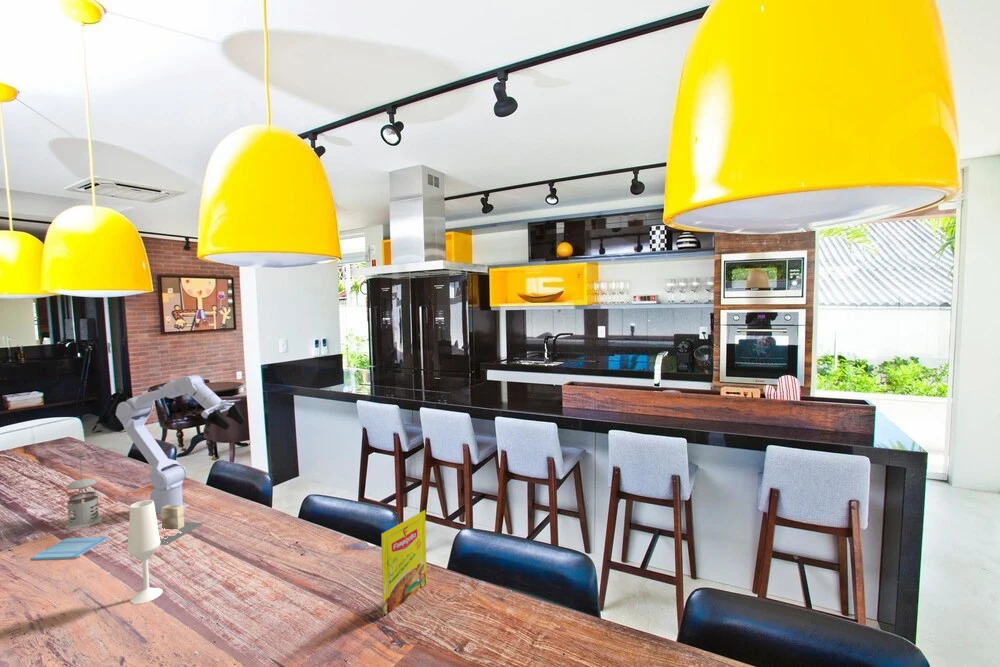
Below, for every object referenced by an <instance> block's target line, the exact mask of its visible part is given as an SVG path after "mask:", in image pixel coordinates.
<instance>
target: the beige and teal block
mask: <svg viewBox="0 0 1000 667" xmlns="http://www.w3.org/2000/svg"><path fill="white" fill-rule="evenodd" d="M184 510H185V508H183V506H176V505H167V506H165V507H163V508H161V513H162V514H161V521H162V528H163V529H164V528H165V529H180V528H182V527H184V522H185V515H184V514H185V513H184V512H185V511H184Z"/></svg>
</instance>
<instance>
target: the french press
mask: <svg viewBox="0 0 1000 667" xmlns="http://www.w3.org/2000/svg"><path fill="white" fill-rule="evenodd" d="M84 455H85V454H84V452H82V451H78V452H77V453H76V457H79V463H80V464H79V467H80V479H76V480H74V481H72V482H70V483H69V484H68V485H66V486H65V488H66V489H68V490H78V491H79V492H78V493H75V494H72V495H70V496H69V497H68V500H69V501H68V502H67V505H66V506H67V520H68V521H67V522H68V523H66V525H65V526H64V528H65V529H67V530H77V529H76V528H78V529H83V528H82V527H84V528H87V527H89V526H90V525H91V526H93V525H95V523H96V524H98V523H100V522H101V521H102V520H103V517H101V516H100V514H99V505H98V504H99V499H98V495H96V494H97V492H96V491H87V488H89V487H93V486H95V485H96V484H97V483H98V480H96V479H93V478H83V476H82V475H83V473H82V456H84ZM83 490H85V492H84V491H83ZM82 500H84V502H82ZM101 519H102V520H101ZM100 520H101V521H100ZM99 521H100V522H99ZM97 522H98V523H97ZM86 526H87V527H86ZM91 526H90V527H91Z"/></svg>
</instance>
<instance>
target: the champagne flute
mask: <svg viewBox="0 0 1000 667" xmlns="http://www.w3.org/2000/svg"><path fill="white" fill-rule="evenodd" d="M129 508H130V509H129V520H128V521H129V523H128V533H127V534H128V535H127V539H128V543H127V553H128V554H129V555H130V556H131V557H133V558H135V559H137V560H141V564H142V583H143V584H142V585H143V587H142V588H143V589H141V590H140V591H139V592H137V593H136V594H135V595H133V596H132V597H131V598H130V600H129V602H130V604H134V605H139V604H145V603H149V602H151V601H153V600H156V598H159V596H161V595H162V594H163V592H164V591H163V589H162V588H161V587H160V588H158V587H150V576H149V575H150V574H149V558H150V557H152V555H154V553H156V552H157V550H158V549H159V547H160V546H161V545H160V543H161V541H160V535H159V529H158V523H159V522H158V519H157V517H158V516H157V513H156V511H155V505H154V501H153V500H150V499H146V500H145V499H144V500H141V501H137V502H134V503H132V504H130V506H129Z"/></svg>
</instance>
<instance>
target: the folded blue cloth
mask: <svg viewBox="0 0 1000 667" xmlns="http://www.w3.org/2000/svg"><path fill="white" fill-rule="evenodd" d="M108 539H110V536H96V537H93V536H92V537H70V538H68V537H67V538H64V539H62V540H61V541H59V542H57V543H55V544H54V545H51V546H49V547H48V548H46V549H44V550H42V551H41V552H39V553H37V554H35V555H33V556H32V561H45V560H47V561H49V560H73V559H72V558H77V559H79V558H81V557H80V556H81V555H83V554H84V553H86V552H88V551H89V550H91V549H93V548H95V547H96V546H98V545H99V544H101V543H103V542H105V541H107V540H108ZM78 557H79V558H78Z"/></svg>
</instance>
